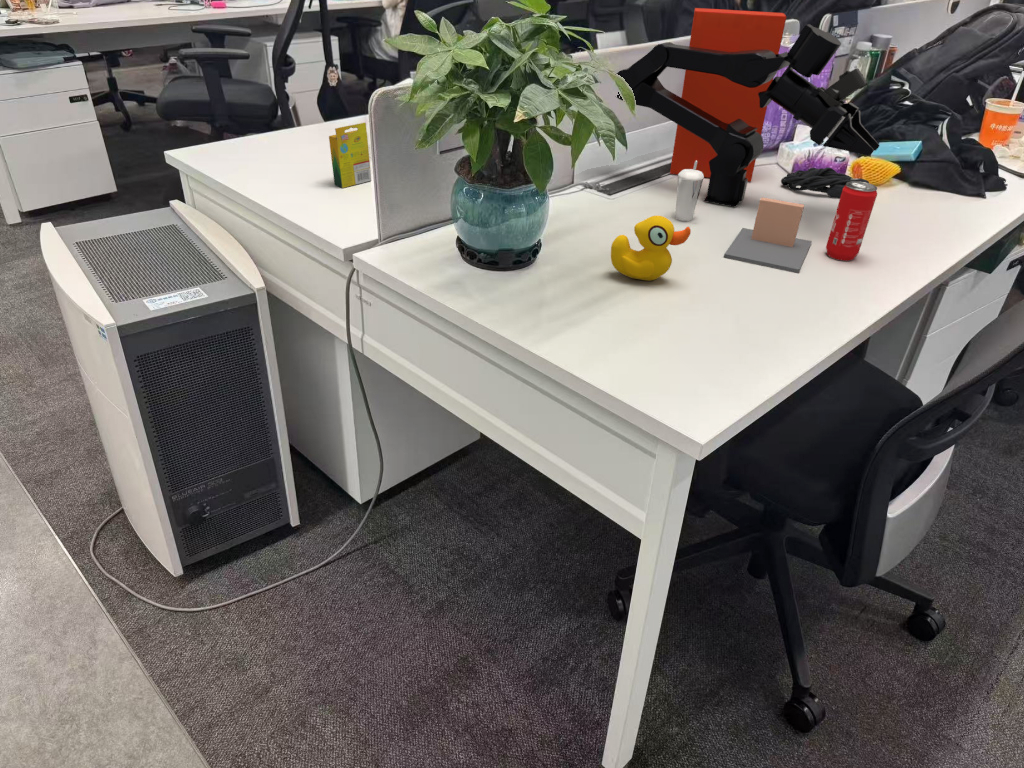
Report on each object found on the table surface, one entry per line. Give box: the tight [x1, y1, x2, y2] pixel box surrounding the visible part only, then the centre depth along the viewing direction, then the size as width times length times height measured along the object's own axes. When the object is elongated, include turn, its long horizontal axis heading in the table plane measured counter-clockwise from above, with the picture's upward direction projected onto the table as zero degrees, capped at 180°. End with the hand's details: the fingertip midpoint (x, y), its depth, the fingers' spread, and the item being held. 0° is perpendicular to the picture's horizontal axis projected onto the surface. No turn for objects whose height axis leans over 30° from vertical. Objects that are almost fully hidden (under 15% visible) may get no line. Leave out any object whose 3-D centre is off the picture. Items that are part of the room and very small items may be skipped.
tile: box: [751, 196, 805, 247], centre depth 122 cm, size 7×2×7 cm, turn 63°
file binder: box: [669, 7, 787, 183], centre depth 150 cm, size 8×17×32 cm, turn 77°
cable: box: [780, 166, 870, 199], centre depth 152 cm, size 17×14×4 cm
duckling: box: [610, 215, 692, 282], centre depth 109 cm, size 11×5×10 cm, turn 78°
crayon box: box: [328, 122, 372, 189], centre depth 142 cm, size 7×3×12 cm, turn 136°
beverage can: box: [825, 181, 878, 262], centre depth 118 cm, size 5×5×12 cm
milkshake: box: [674, 161, 705, 222], centre depth 132 cm, size 4×5×10 cm
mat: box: [723, 227, 812, 274], centre depth 122 cm, size 12×14×1 cm
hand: (874, 150), depth 125 cm, fingers open, 9 cm apart
